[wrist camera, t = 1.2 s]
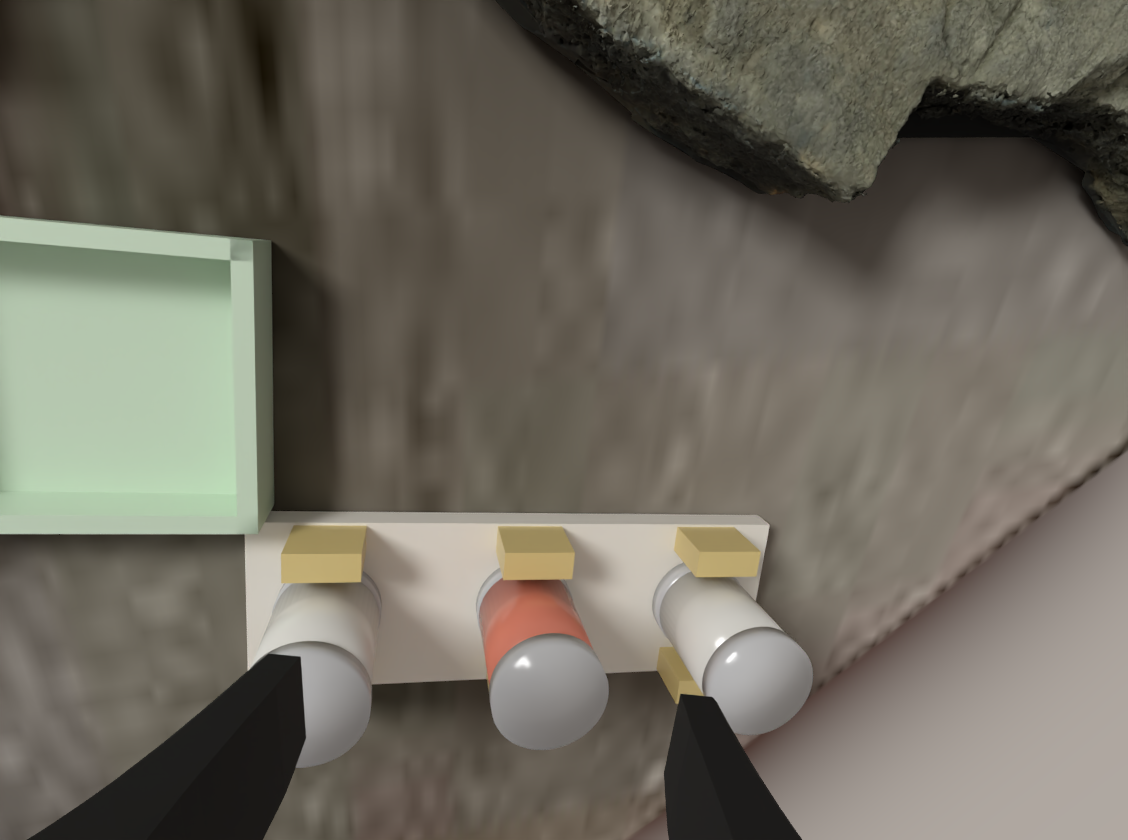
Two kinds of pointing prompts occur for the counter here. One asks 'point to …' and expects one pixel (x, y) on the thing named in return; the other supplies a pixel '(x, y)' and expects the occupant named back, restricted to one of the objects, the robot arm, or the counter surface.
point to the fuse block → (522, 552)
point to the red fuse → (539, 662)
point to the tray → (134, 380)
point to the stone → (856, 81)
